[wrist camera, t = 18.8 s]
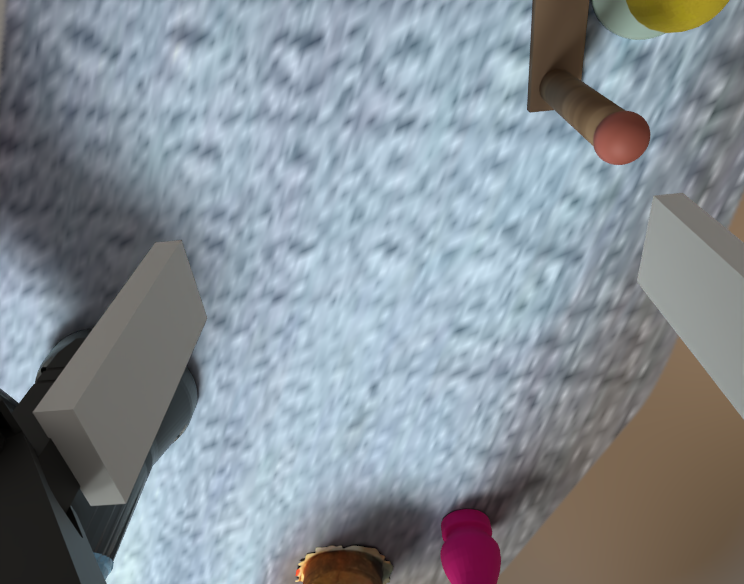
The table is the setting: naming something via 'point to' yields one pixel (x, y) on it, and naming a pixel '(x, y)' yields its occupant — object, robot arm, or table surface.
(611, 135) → the gate course
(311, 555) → the vessel
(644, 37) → the pad
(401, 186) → the table surface
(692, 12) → the lemon
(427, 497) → the table surface
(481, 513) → the pepper mill
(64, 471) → the robot arm
